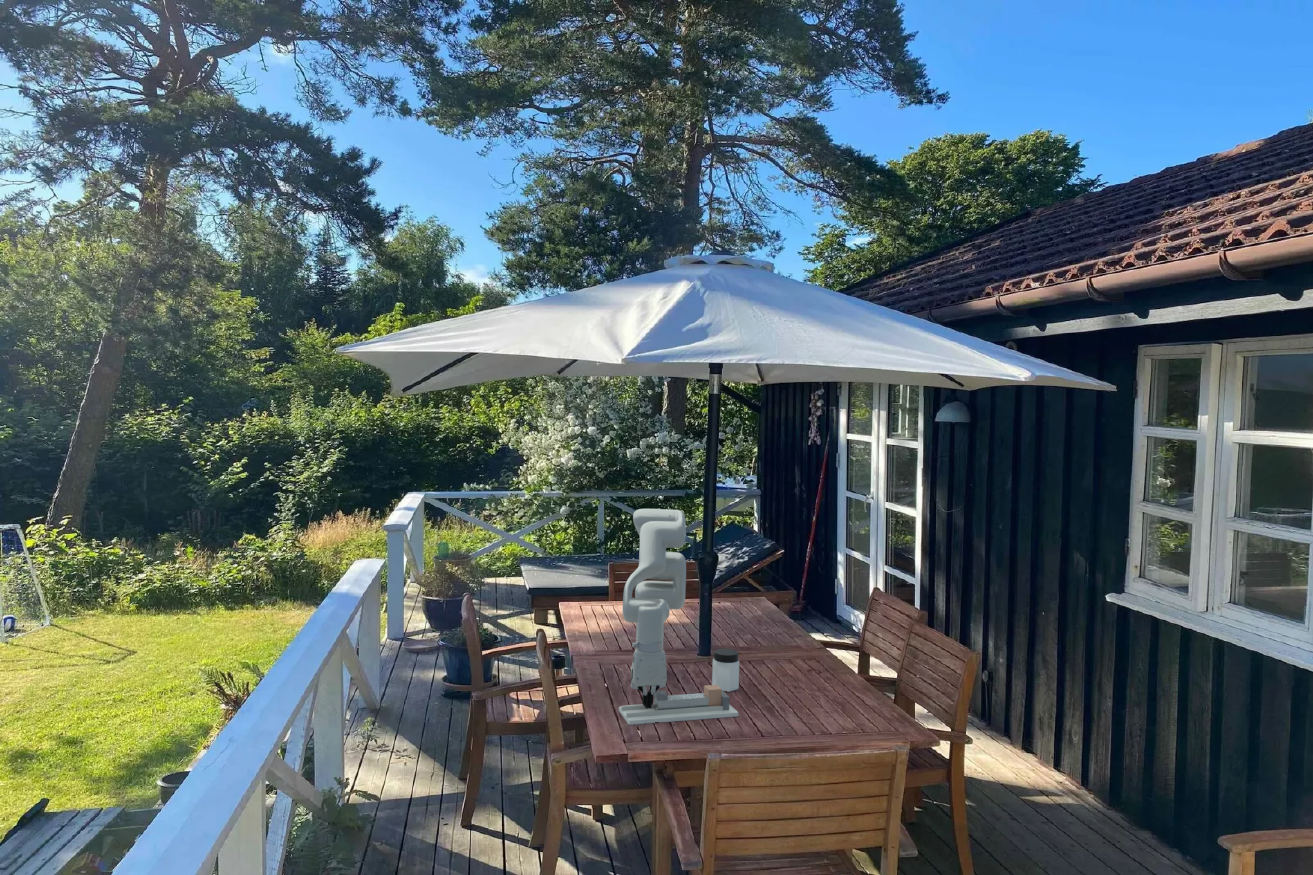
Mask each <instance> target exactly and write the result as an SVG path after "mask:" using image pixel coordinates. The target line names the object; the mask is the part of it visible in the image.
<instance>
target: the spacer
mask: <svg viewBox="0 0 1313 875" xmlns="http://www.w3.org/2000/svg"><path fill="white" fill-rule="evenodd" d="M703 693H705V694H706V695H707V696H708V697H709V700H708V707H709V706H721V694H722V689H721V688H720V687H719V686H718V685H712V684H710V685H708V684H707V685H706V684H705V685H703Z"/></svg>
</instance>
